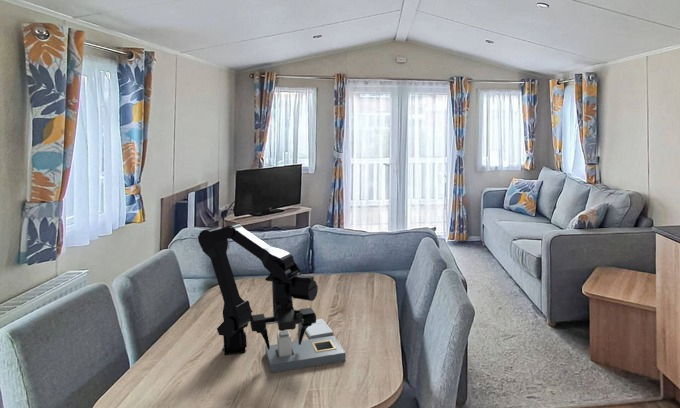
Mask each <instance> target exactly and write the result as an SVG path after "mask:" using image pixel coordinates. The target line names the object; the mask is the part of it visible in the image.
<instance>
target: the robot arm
mask: <svg viewBox="0 0 680 408" xmlns="http://www.w3.org/2000/svg"><path fill="white" fill-rule="evenodd" d="M229 239H230V240H232V241H233V242H235V243H236V244H237V245H239V246H240V247H242V248H243V249H244V250H246V251H247V252H249V253H250V254H252V255H253V256H255V257H256V258H257V259H259V260H260V261H261V263H262V265H263V267H264V268H265V270H266V271H268V272H269V275H268V276H267V277H266V278H264V279H265V281H266V282H271V289H272V290H271V292H272V314H273V315H272V316H267V317H266V316H265V314H264V313H259V314H253V310H252V308H251V304H250V301H249V299H248V300H244V299H243V298H242V297H241V295H240V293H239V289H238V286H237V283H236V280H235V277H234V274H233V269H232V268H231V264H230V261H229V258H228V254H227V253H228V252H227V251H228V245H229V242H228V240H229ZM197 240H198V243H199V246H200V248H201V251H202V252H203V253H204V254H205V255H207V257H209V259H210V261H211V262H210V263H211V264H212V268H213V271H214V274H215V277H216V282H217V283H218V288H219V289H220V293H221V296H222V300H223V308H222V319H223V321H222V323H221V324H220V325H219V326H218V327H217V328H216V330H217V333H218V335H219V336H223V337H222V338H223V355H224V356H227V355H232V354H233V355H234V354H240V353H246V351H247V350H246V348H247V345H248V343H247V333H246V332H245V330H244V329H245V328H247V327H248V326H249V323H250V329H251V331H252V332H256V333H257V334H261V336H262V338H263V339H264V342H265V346H267V348H268V350H269V349H270V346H269V345H270V341H269V335H268V329H267V325H272V324H277V329H278V330H279V332H282V331H288V330H291V331H292V330H293V331H294V330H295V329H296V326H297V325H298V326H297V328H298V330H297V332H298V333H297V341H298V343H299V345H301V342H302V340H304V336H305V333H306V332H305V331H306V329H307V327H309V326H311V325H312V323H316V319H317V315H316V312H315V311H314V310H313V309H312V307H307V308H306V307H305V308H300V309H294V306H293V305H294V304H293V299H295V300H303V301H308V302H309V301H310V302H313V301H315V300H316V297H317V295H318V291H319V289H318V288H319V286H318V284H317V281H316V280H315V277H314V276H313V275H302V274H303V272H302V270H301V269H300V267H299V266H298V265H297V262H295V260H294V259H295V258H294V256H293V254H291V252H288V251H286V250H284V249H282V248H277V247H274V246H271V245H269V244H268V243H266V242H265V241H263V240H262V239H260V238H258V237H257V235H255V234H253V233H251V231H248V230H247V229H246V228H244V227H243V226H242V224H240V223H232V224H228V225H226V226H224V227H221V226H214V227H210V228H205V229H203V230H201V231H200V232H199V234H198V237H197ZM288 272H289V273H288Z"/></svg>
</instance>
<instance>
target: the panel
mask: <svg viewBox="0 0 680 408" xmlns="http://www.w3.org/2000/svg"><path fill="white" fill-rule="evenodd" d="M291 345H292V355H291V356H284V357H278V344H277V343H276V344H269V346H270V349H269V350H268V348H267V345H265V346H264V347H265V348H264V349H265V357H266V360H267V363H268V367H269V368H268V369H269V371H270V374H272V373H273V374H274V373H279V372H280V373H281V372H285V371H291V370H298V369H303V368H310V367H316V366H320V365H327V364H328V365H329V364H333V363H339V362H344V361H346V351H345V349H343V347H342V346H341V344H340V342H339V341H338V339H337V338H336V336H335V335H330V336H324V337H318V338H313V339H310V338H309V339H308V338H307V339H302V342H301V345H299V343H298V340H296V341H291Z"/></svg>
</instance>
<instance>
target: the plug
mask: <svg viewBox="0 0 680 408" xmlns="http://www.w3.org/2000/svg"><path fill="white" fill-rule="evenodd" d="M276 339H277V343H276V344H278V357H284V356H291V355H292V345H291V342H292V335H291V333H290V331H288V330H284V331H278V333H276Z"/></svg>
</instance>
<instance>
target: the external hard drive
mask: <svg viewBox="0 0 680 408" xmlns="http://www.w3.org/2000/svg"><path fill="white" fill-rule="evenodd" d="M305 333H306V335H307V336H308V338H309V339H315V338H322V337H328V336H335V335H334V334H335V333H334V331H333V330H332V329H331V327H329V325H328V324H327V322H325V320H324V319H323V318H316V323H312V325H311V326H309V327H307V329H306V331H305Z"/></svg>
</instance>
